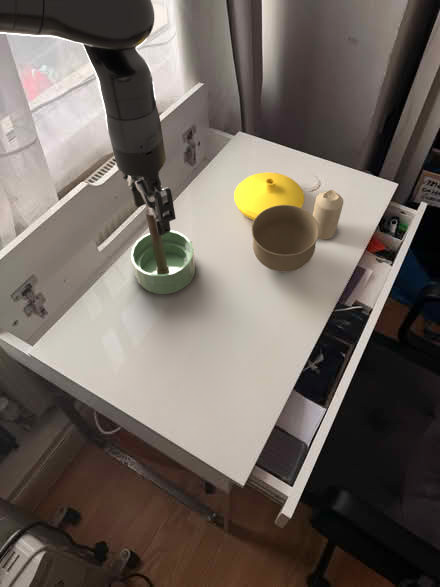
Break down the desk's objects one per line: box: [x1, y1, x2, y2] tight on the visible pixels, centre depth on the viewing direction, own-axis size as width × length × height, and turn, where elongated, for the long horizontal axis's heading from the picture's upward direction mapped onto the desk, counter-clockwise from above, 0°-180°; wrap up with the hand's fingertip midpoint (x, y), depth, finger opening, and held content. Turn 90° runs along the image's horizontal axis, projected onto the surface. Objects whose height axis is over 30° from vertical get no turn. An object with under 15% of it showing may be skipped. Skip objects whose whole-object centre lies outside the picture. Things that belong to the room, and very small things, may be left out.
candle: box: [312, 189, 344, 240], centre depth 90 cm, size 6×6×10 cm
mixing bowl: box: [130, 229, 196, 295], centre depth 86 cm, size 12×12×6 cm
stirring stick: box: [145, 208, 169, 274], centre depth 81 cm, size 2×2×16 cm
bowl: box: [251, 205, 319, 273], centre depth 85 cm, size 13×13×10 cm
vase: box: [233, 171, 305, 221], centre depth 97 cm, size 16×16×7 cm
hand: (152, 218), depth 76 cm, fingers open, 8 cm apart
